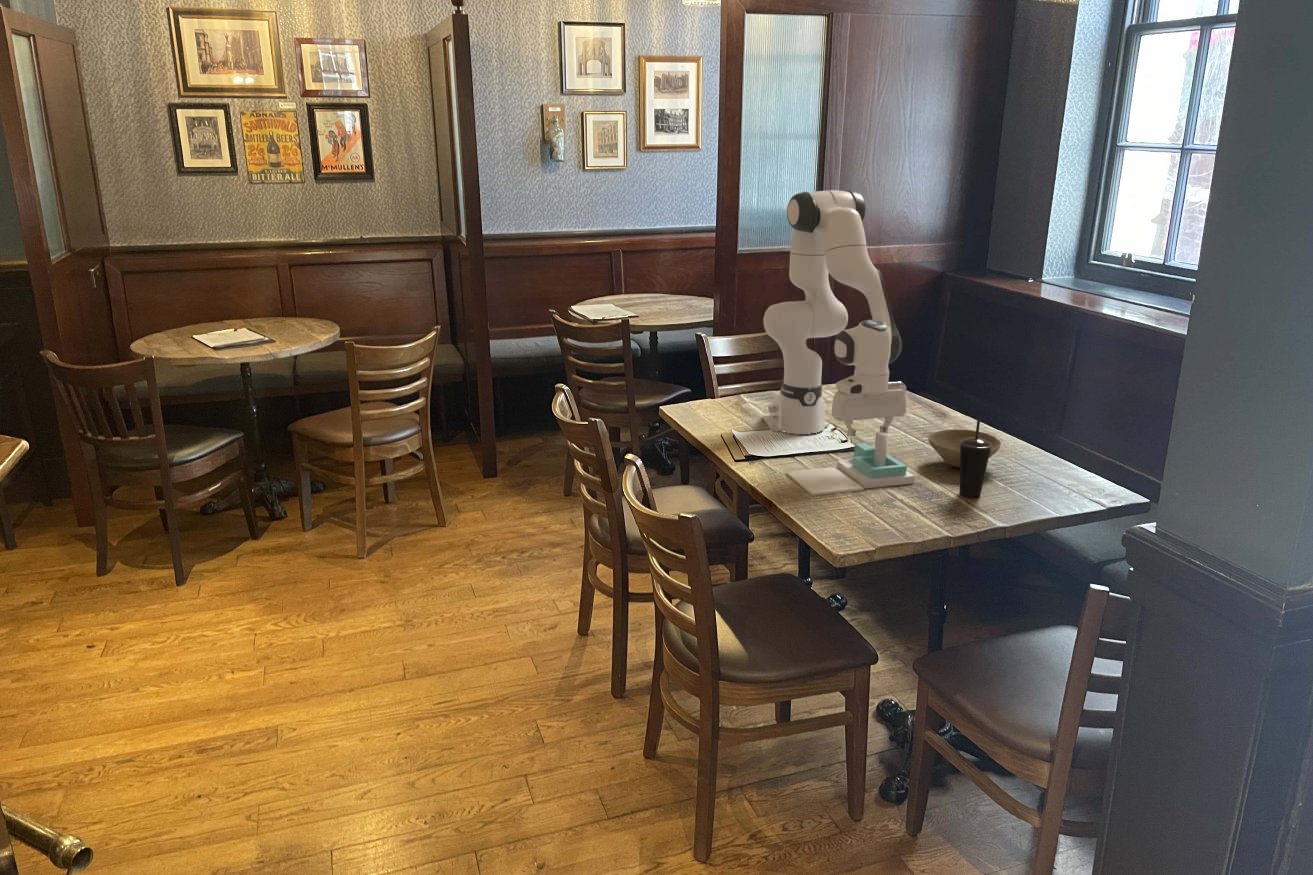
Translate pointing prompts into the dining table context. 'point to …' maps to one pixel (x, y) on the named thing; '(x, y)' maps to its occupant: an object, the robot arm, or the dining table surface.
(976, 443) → the drinking cup
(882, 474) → the teal square ring handle
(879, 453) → the post stand
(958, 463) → the bowl
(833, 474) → the mat
